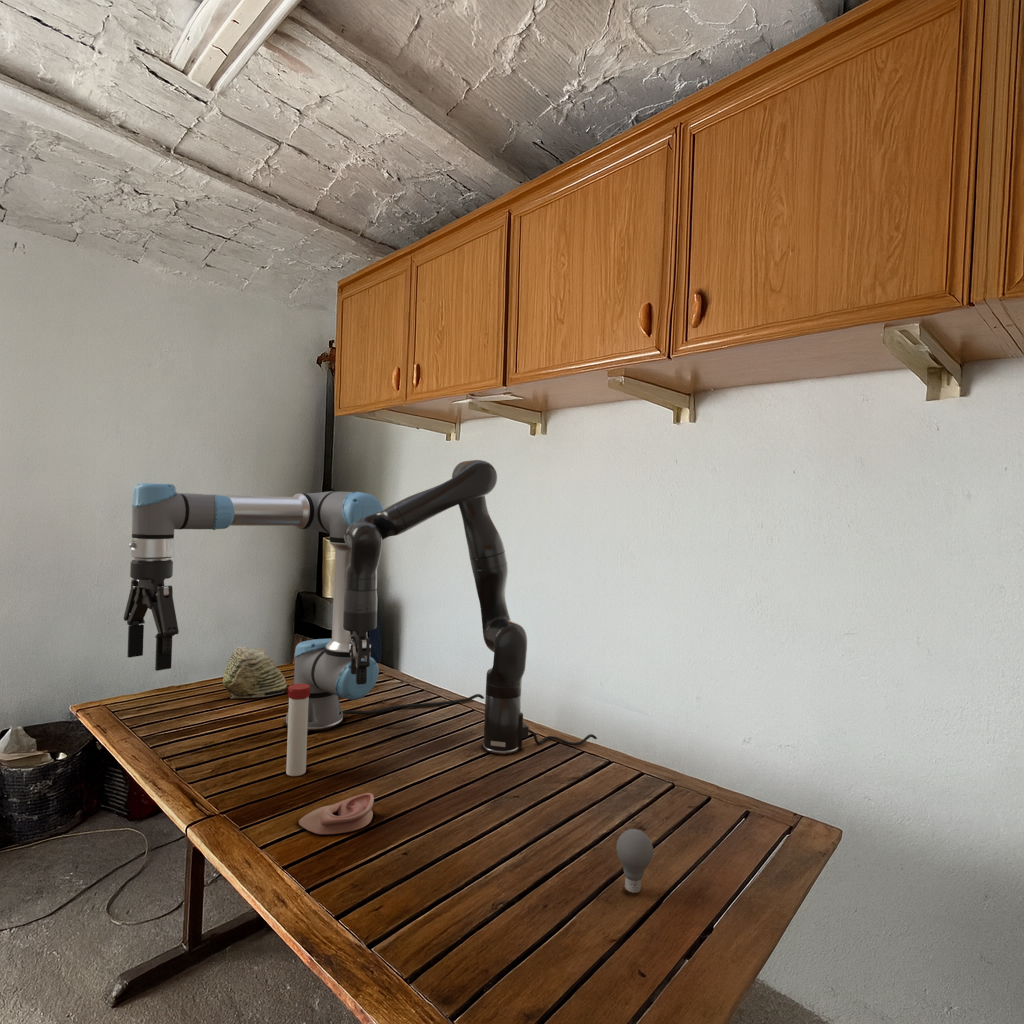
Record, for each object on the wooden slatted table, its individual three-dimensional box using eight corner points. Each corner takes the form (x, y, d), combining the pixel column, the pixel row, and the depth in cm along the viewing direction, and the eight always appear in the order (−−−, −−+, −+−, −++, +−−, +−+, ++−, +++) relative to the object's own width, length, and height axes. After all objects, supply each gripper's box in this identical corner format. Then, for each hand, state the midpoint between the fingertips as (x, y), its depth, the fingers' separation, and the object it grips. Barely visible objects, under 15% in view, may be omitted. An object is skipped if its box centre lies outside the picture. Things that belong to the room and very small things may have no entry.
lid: (308, 691, 148) (308, 682, 148) (311, 698, 143) (311, 688, 143) (286, 693, 146) (287, 684, 146) (288, 700, 141) (289, 690, 141)
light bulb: (610, 879, 108) (613, 822, 108) (644, 879, 109) (647, 822, 109) (619, 902, 102) (622, 840, 102) (655, 901, 103) (658, 840, 103)
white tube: (304, 767, 148) (307, 684, 147) (306, 774, 144) (310, 690, 144) (285, 769, 146) (288, 686, 146) (287, 777, 142) (290, 691, 142)
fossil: (218, 695, 195) (220, 647, 195) (278, 685, 208) (279, 640, 207) (228, 703, 189) (230, 653, 188) (289, 692, 201) (290, 645, 201)
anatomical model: (290, 809, 120) (320, 783, 131) (289, 830, 120) (320, 802, 131) (355, 819, 117) (381, 791, 128) (355, 840, 117) (380, 811, 128)
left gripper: (108, 554, 134) (104, 654, 134) (159, 565, 118) (155, 678, 119) (146, 552, 140) (143, 648, 140) (199, 563, 124) (195, 671, 124)
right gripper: (382, 613, 140) (380, 686, 140) (371, 602, 153) (369, 669, 153) (347, 614, 137) (345, 689, 137) (340, 603, 150) (337, 671, 151)
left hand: (148, 662), depth 129 cm, fingers open, 13 cm apart
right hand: (358, 678), depth 145 cm, fingers open, 8 cm apart
